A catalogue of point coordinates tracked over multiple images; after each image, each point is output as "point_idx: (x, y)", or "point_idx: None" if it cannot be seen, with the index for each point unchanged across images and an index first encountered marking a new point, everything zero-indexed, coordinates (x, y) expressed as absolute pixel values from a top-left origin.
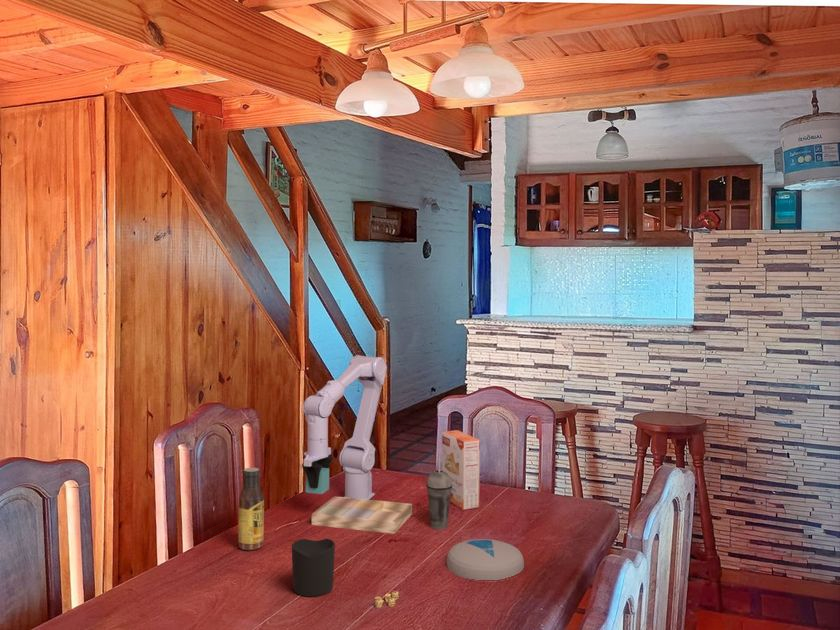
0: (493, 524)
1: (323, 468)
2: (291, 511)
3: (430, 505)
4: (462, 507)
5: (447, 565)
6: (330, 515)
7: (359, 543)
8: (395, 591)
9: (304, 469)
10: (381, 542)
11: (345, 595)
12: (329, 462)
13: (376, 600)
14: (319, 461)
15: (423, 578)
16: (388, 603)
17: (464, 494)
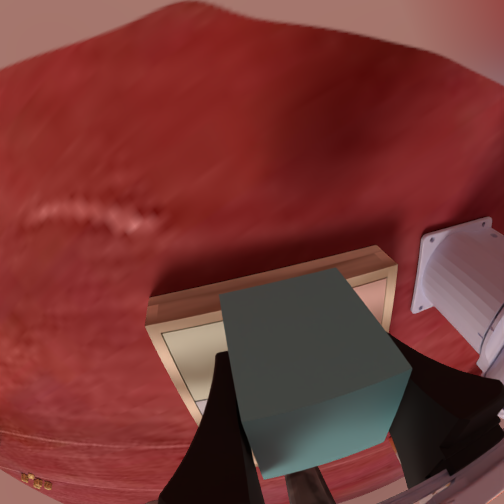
0: (333, 477)
1: (377, 430)
2: (248, 114)
3: (294, 499)
4: (391, 441)
5: (155, 502)
6: (177, 380)
7: (132, 435)
8: (49, 488)
9: (174, 479)
10: (167, 453)
11: (5, 454)
12: (403, 471)
13: (21, 479)
14: (426, 440)
15: (106, 494)
16: (34, 481)
17: (399, 460)
